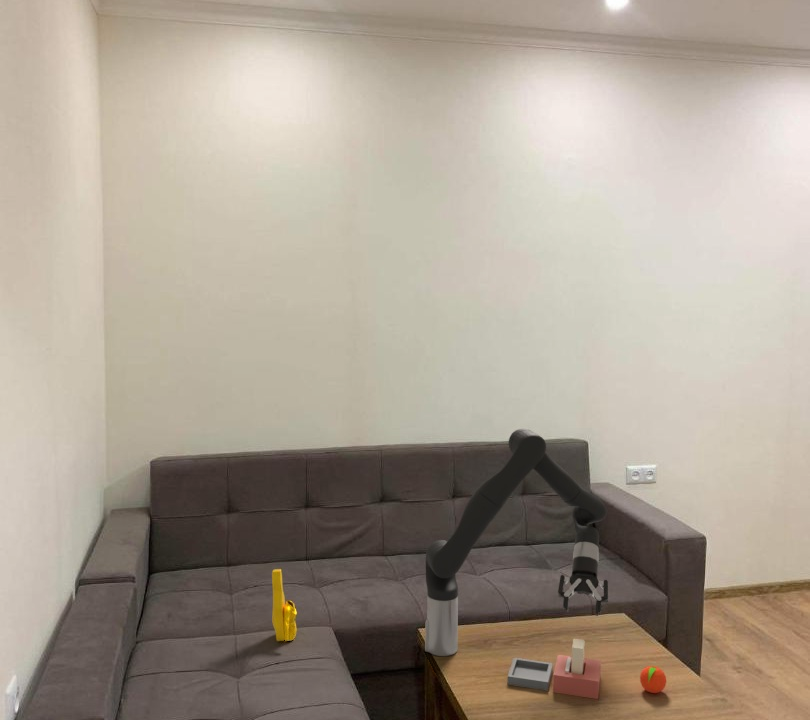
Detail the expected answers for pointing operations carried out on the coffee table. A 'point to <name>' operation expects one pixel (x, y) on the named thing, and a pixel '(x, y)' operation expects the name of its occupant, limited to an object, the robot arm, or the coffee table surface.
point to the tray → (530, 673)
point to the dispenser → (577, 678)
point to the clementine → (653, 679)
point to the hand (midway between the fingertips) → (581, 612)
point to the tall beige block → (578, 656)
